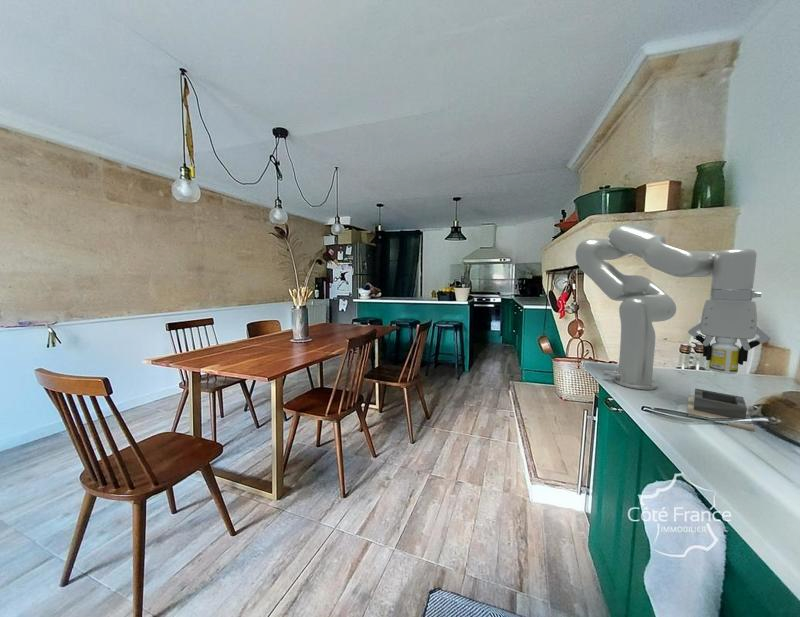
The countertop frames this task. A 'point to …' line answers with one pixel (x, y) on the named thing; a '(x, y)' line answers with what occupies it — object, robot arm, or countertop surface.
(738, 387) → the countertop surface
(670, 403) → the countertop surface
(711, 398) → the holder board
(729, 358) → the supplement bottle
